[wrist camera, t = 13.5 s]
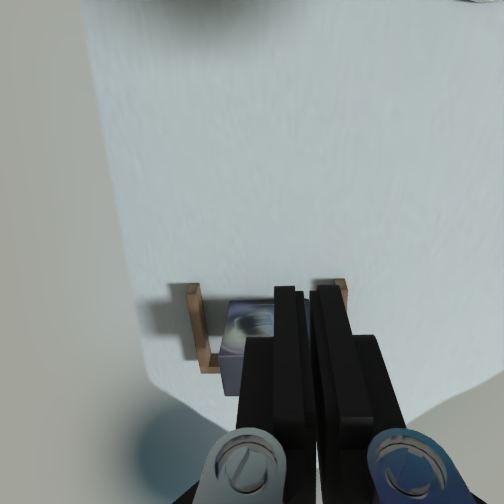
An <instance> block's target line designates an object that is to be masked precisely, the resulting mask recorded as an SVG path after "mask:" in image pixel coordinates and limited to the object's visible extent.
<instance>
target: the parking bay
mask: <svg viewBox="0 0 504 504" xmlns="http://www.w3.org/2000/svg"><path fill="white" fill-rule="evenodd" d="M335 285H339V286H340V289H341V293H342V297H343V301H344V305H345V308H346V312H347V297H348V289H347V285H346V282H345V279H335ZM186 298H187V303H188V308H189V313H190V319H191V324H192V329H193V335H194V340H195V345H196V350H197V356H198V361H199V366H200V372H201V374H206V373H221V372H220V366H219V359H218V356H219V354H211V350H210V344H209V338H208V332H207V326H206V320H205V314H204V308H203V302H202V296H201V290H200V284H199V283H190V285H189V288H188V291H187V293H186Z"/></svg>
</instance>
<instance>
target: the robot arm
mask: <svg viewBox="0 0 504 504" xmlns="http://www.w3.org/2000/svg"><path fill="white" fill-rule="evenodd" d="M471 1H475V2H484V3H494V2H499V1H504V0H471ZM309 299H310V349H309V340H308V331H307V321H306V312H305V302H304V293H303V291H295V286H274V336H271V337H246V341H245V349H244V358H243V367H242V376H241V386H240V395H239V404H238V413H237V422H236V430H233V431H230V432H229V433H227V434H226V435H224V436H222V437H221V438H220V439H219V440H218V441H217V443H215V444H214V445H213V447H212V449H211V451H210V453H209V455H208V457H207V460H206V463H205V466H204V469H203V472H202V476H201V478H200V480H199V481H198V482H197V483H196V484H195V485H193V486H192V487H191V488H190V489H189V490H188V491H186V492H185V493H184V494H183V495H182V496H180V497H179V498H178V499H177V500H176V501H175V502H173V503H172V504H316V441H317V451H318V461H319V470H320V481H321V491H322V501H323V504H487V503H485V502H484V501H483V500H481V499H480V498H478V497H477V496H475V495H474V494H473V493H471V492H470V491H469V489H468V487H467V485H466V484H465V482H464V480H463V479H462V477H461V475H460V473H459V472H458V470H457V468H456V467H455V465H454V463H453V461H452V460H451V458H450V457H449V456H448V454H447V453H446V452H445V451H444V449H443V448H442V447H441V446H440V445H438V444H437V443H436V442H435V441H434V440H432V439H431V438H430V437H428V436H426V435H424V434H422V433H420V432H418V431H414V430H410V429H407V428H406V425H405V422H404V419H403V416H402V413H401V410H400V407H399V404H398V402H397V399H396V396H395V393H394V390H393V387H392V384H391V381H390V378H389V375H388V372H387V369H386V366H385V363H384V360H383V357H382V354H381V351H380V348H379V345H378V343H377V340H376V338H375V336H374V335H352V331H351V328H350V324H349V320H348V316H347V312H346V308H345V305H344V301H343V297H342V293H341V289H340V286H339V285H318V286H317V291H310V295H309Z"/></svg>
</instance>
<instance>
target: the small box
mask: <svg viewBox="0 0 504 504" xmlns="http://www.w3.org/2000/svg"><path fill="white" fill-rule="evenodd" d="M304 302H305V312H306V321H307V331H308V340H309V349H310V303H309V299H304ZM271 336H274V300H263V301H230V302H229V309H228V313H227V318H226V323H225V328H224V333H223V338H222V342H221V347H220V352H219V356H218V359H219V366H220V372H221V378H222V384H223V389H224V394H225V396H239V395H240V386H241V376H242V367H243V358H244V349H245V341H246V337H271Z"/></svg>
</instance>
